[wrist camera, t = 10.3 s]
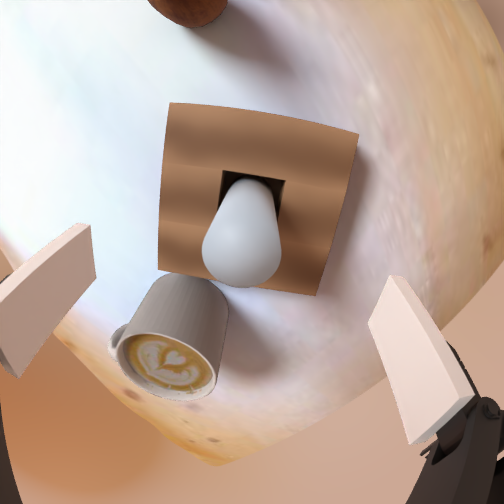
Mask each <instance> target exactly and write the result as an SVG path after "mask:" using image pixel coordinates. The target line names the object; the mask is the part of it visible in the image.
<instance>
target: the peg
mask: <svg viewBox="0 0 504 504" xmlns="http://www.w3.org/2000/svg"><path fill="white" fill-rule="evenodd" d="M202 257H203V261H204V263H205V266H206V268H207V269H208V271H209V272H210V273H211V274H212V275H213V276H214V277H215V278H216V279H217V280H219V281H220V282H222V283H224V284H226V285H229V286H232V287H238V288H248V287H253V286H257V285H259V284H261V283H263V282H265V281H267V280H268V279H269V278H270V277H271V276H272V275H273V274H274V273H275V271H276V270H277V268H278V266H279V264H280V261H281V244H280V238H279V231H278V225H277V219H276V213H275V206H274V200H273V194H272V190H271V187H270V185H269V184H268V183H267V182H266V181H265V180H264V179H263V178H261V177H259V176H256V175H244V176H241V177H239V178H238V179H236V180H235V181H234V182H233V183H232V185H231V186H230V188H229V190H228V192H227V194H226V196H225V198H224V200H223V202H222V204H221V206H220V208H219V210H218V212H217V214H216V216H215V218H214V220H213V222H212V224H211V226H210V228H209V230H208V232H207V234H206V236H205V238H204V241H203V244H202Z"/></svg>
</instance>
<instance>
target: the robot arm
mask: <svg viewBox="0 0 504 504" xmlns="http://www.w3.org/2000/svg"><path fill="white" fill-rule="evenodd" d="M95 279H96V272H95V265H94V257H93V248H92V239H91V227H90V225H88V224H82V223H76V224H75V225H73V226H72V227H71V228H69V229H68V230H66V231H65V232H64V233H62V234H61V235H60V236H58V237H57V238H56V239H54V240H53V241H52V242H50V243H49V244H48V245H46V246H45V247H44V248H42V249H41V250H40V251H39V252H37V253H36V254H35V255H34V256H32V257H31V258H30V259H29V260H28V261H26V262H25V263H24V264H23V265H22V266H20V267H19V268H18V269H17V270H16V271H14V272H13V273H11V274H10V275H8V276H6V277H5V278H4V279H3V280H2V281H1V282H0V362H1V364H2V366H3V367H4V369H5V371H7V372H8V373H10V374H12V375H13V376H15V377H16V378H18V379H19V378H20V377H21V375H22V374H23V372H24V371H25V369H26V368H27V366H28V365H29V363H30V362H31V360H32V359H33V358H34V356H35V354H36V353H37V352H38V350H39V349H40V348H41V346H42V345H43V344H44V342H45V341H46V340H47V338H48V337H49V335H50V334H51V333H52V332H53V330H54V329H55V328H56V326H57V325H58V324H59V323H60V321H61V320H62V319H63V317H64V316H65V315H66V314H67V312H68V311H69V310H70V309H71V307H72V306H73V305H74V304H75V303H76V301H77V300H78V299H79V298H80V297H81V295H82V294H83V293H84V292H85V291H86V290H87V288H88V287H89V286H90V285H91V284H92V283H93V281H94V280H95ZM367 324H368V326H369V329H370V331H371V334H372V336H373V339H374V341H375V344H376V347H377V349H378V352H379V355H380V357H381V360H382V363H383V365H384V368H385V371H386V374H387V376H388V379H389V382H390V385H391V388H392V391H393V394H394V397H395V400H396V403H397V405H398V409H399V412H400V416H401V419H402V422H403V425H404V429H405V432H406V435H407V439H408V443H409V445H412V444H417V443H422V442H426V441H427V440H428V439H429V438H430V437H432V436H433V435H434V434H435V433H436V434H437V437H438V439H437V440H436V441H434V442H433V443H432V444H431V445H430V446H428V447H427V448H426V449H424V450H423V451H422V452H421V454H420V455H421V456H423V455H424V454H425V453H427V452H428V451H429V450H430V452H429V454H428V455H427V456H426V457H425V458H426V459H427V460H426V463H425V464H424V467H423V469H422V471H421V474H420V476H419V478H418V480H417V482H416V484H415V486H414V488H413V491H412V493H411V495H410V497H409V498H408V500H407V502H406V504H504V457H503V458H501V459H500V460H498V461H497V455H498V454H499V453H500V452H502V451H503V450H504V410H500V407H499V406H498V404H497V403H496V402H495V401H494V400H493V399H491V398H488V397H482V398H481V397H480V395H479V393H478V391H477V389H476V387H475V385H474V383H473V381H472V379H471V378H470V375H469V374H468V372H467V370H466V369H465V366H464V365H463V363H462V361H460V358H459V356H458V354H457V352H456V351H455V349H454V348H453V347H452V346H451V345H450V344H449V343H448V342H447V341H445V339H444V337H443V336H442V334H441V332H440V331H439V329H438V327H437V326H436V324H435V323H434V321H433V320H432V318H431V316H430V315H429V313H428V312H427V310H426V309H425V307H424V306H423V304H422V303H421V301H420V300H419V298H418V297H417V296H416V294H415V293H414V291H413V290H412V288H411V287H410V285H409V284H408V283H407V281H406V280H405V278H404V277H400V276H394V275H389V278H388V280H387V282H386V285H385V287H384V289H383V291H382V294H381V296H380V298H379V300H378V302H377V304H376V307H375V309H374V311H373V313H372V315H371V317H370V319H369V321H368V323H367ZM0 504H23V503H22V501H21V498H20V495H19V492H18V489H17V485H16V482H15V479H14V475H13V472H12V468H11V464H10V459H9V456H8V450H7V446H6V440H5V435H4V429H3V422H2V414H1V405H0Z"/></svg>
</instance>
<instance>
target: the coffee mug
mask: <svg viewBox="0 0 504 504" xmlns="http://www.w3.org/2000/svg"><path fill="white" fill-rule="evenodd" d="M228 316H229V309H228V304H227V302H226V299H225V297H224V296H223V294H222V293H221V291H220V290H219V289H218V288H217V287H216V286H215V285H214V284H212V283H211V282H210V281H208V280H206V279H205V278H200V277H194V276H189V275H183V274H178V273H170V274H166V275H164V276H162V277H160V278H159V279H157V280H156V281H155V282H154V283H153V285H152V286H151V288H150V289H149V291H148V293H147V294H146V296H145V297H144V299H143V301H142V302H141V304H140V306H139V307H138V309H137V311H136V312H135V314H134V316H133V317H132V319H131V321H130V322H129V323H128V324H125V325H123V326H121V327H120V328H119V329H117V330H116V331H115V333H114V334H113V335H112V337H111V339H110V340H109V343H108V347H107V348H108V352H109V355H110V356H111V358H112V359H113V360H115V361H116V362H118V364H119V366H120V368H121V370H122V371H123V373H124V374H125V375H126V376H127V377H128V378H129V379H130V380H131V381H132V382H133V383H134V384H136V385H137V386H138V387H140V388H142V389H143V390H145V391H147V392H149V393H151V394H153V395H156V396H158V397H161V398H164V399H169V400H174V401H193V400H198V399H201V398H203V397H205V396H207V395H208V394H210V393H211V392H212V391H213V389H214V387H215V385H216V382H217V377H218V372H219V366H220V361H221V355H222V349H223V344H224V338H225V333H226V327H227V322H228Z"/></svg>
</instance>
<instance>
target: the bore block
mask: <svg viewBox="0 0 504 504" xmlns="http://www.w3.org/2000/svg"><path fill="white" fill-rule="evenodd" d="M358 138H359V134H356V133H353V132H349V131H346V130H342V129H339V128H335V127H331V126H327V125H323V124H319V123H315V122H310V121H306V120H301V119H297V118H292V117H287V116H282V115H276V114H271V113H265V112H259V111H252V110H245V109H238V108H230V107H222V106H212V105H201V104H188V103H170V104H169V111H168V118H167V126H166V134H165V143H164V152H163V163H162V174H161V188H160V204H159V228H158V270H162V271H167V272H172V273H178V274H183V275H189V276H194V277H200V278H205V279H211V280H217V279H216V278H215V277H214V276H213V275H212V274H211V273H210V272H209V271H208V269H207V268H206V266H205V263H204V261H203V257H202V244H203V241H204V238H205V236H206V234H207V232H208V230H209V228H210V226H211V224H212V222H213V220H214V218H215V216H216V214H217V212H218V210H219V208H220V206H221V204H222V202H223V200H224V198H225V196H226V194H227V192H228V190H229V188H230V186H231V185H232V183H233V182H234V181H235V180H236V179H238V178H239V177H241V176H244V175H256V176H259V177H261V178H263V179H264V180H265V181H266V182H267V183H268V184H269V185H270V187H271V190H272V194H273V200H274V206H275V213H276V219H277V225H278V231H279V238H280V244H281V261H280V264H279V266H278V268H277V270H276V271H275V273H274V274H273V275H272V276H271V277H270V278H269V279H268V280H267V281H265V282H263V283H261V284H259V285H257V286H253V287H259V288H265V289H272V290H278V291H285V292H291V293H298V294H305V295H312V296H316V293H317V290H318V287H319V283H320V280H321V277H322V274H323V271H324V268H325V265H326V261H327V258H328V255H329V252H330V248H331V245H332V241H333V238H334V235H335V231H336V227H337V224H338V220H339V217H340V213H341V209H342V205H343V202H344V198H345V194H346V190H347V186H348V182H349V178H350V174H351V169H352V165H353V161H354V156H355V152H356V147H357V143H358ZM217 281H219V280H217Z"/></svg>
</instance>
